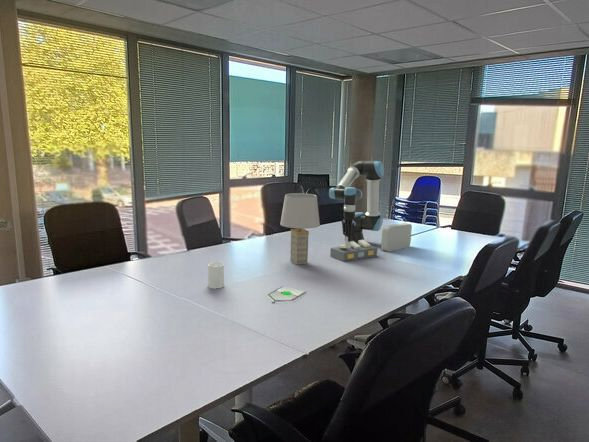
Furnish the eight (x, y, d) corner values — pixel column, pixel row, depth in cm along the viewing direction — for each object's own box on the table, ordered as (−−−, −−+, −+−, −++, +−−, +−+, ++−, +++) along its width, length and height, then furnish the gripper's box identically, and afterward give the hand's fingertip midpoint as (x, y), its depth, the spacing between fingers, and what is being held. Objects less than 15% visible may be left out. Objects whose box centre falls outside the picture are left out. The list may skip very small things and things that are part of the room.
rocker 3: (358, 242, 289) (358, 240, 289) (362, 241, 292) (363, 239, 291) (365, 247, 283) (365, 245, 283) (370, 246, 286) (370, 244, 285)
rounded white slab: (402, 244, 321) (403, 222, 318) (410, 246, 315) (412, 223, 312) (378, 249, 303) (379, 226, 300) (386, 252, 298) (388, 227, 294)
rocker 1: (338, 247, 280) (337, 245, 280) (343, 247, 282) (342, 244, 282) (345, 248, 273) (345, 245, 273) (350, 247, 275) (350, 244, 275)
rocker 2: (348, 243, 284) (348, 241, 284) (352, 243, 287) (353, 240, 286) (355, 249, 279) (355, 246, 278) (360, 248, 281) (360, 246, 280)
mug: (218, 280, 226) (218, 259, 224) (231, 283, 223) (231, 262, 220) (204, 287, 216) (204, 265, 214) (217, 290, 212) (217, 267, 210)
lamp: (290, 270, 249) (292, 198, 241) (273, 259, 271) (274, 193, 263) (325, 265, 260) (328, 197, 252) (306, 255, 282) (308, 192, 274)
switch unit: (330, 256, 282) (330, 246, 281) (363, 251, 298) (363, 242, 297) (343, 261, 270) (344, 251, 269) (377, 256, 286) (377, 246, 285)
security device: (256, 301, 200) (256, 297, 200) (280, 288, 219) (280, 284, 219) (286, 309, 192) (286, 305, 191) (308, 295, 211) (308, 291, 211)
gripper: (338, 209, 274) (336, 244, 278) (351, 212, 263) (350, 248, 267) (347, 209, 278) (345, 243, 282) (360, 212, 267) (358, 247, 271)
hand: (347, 245), depth 274 cm, fingers closed
